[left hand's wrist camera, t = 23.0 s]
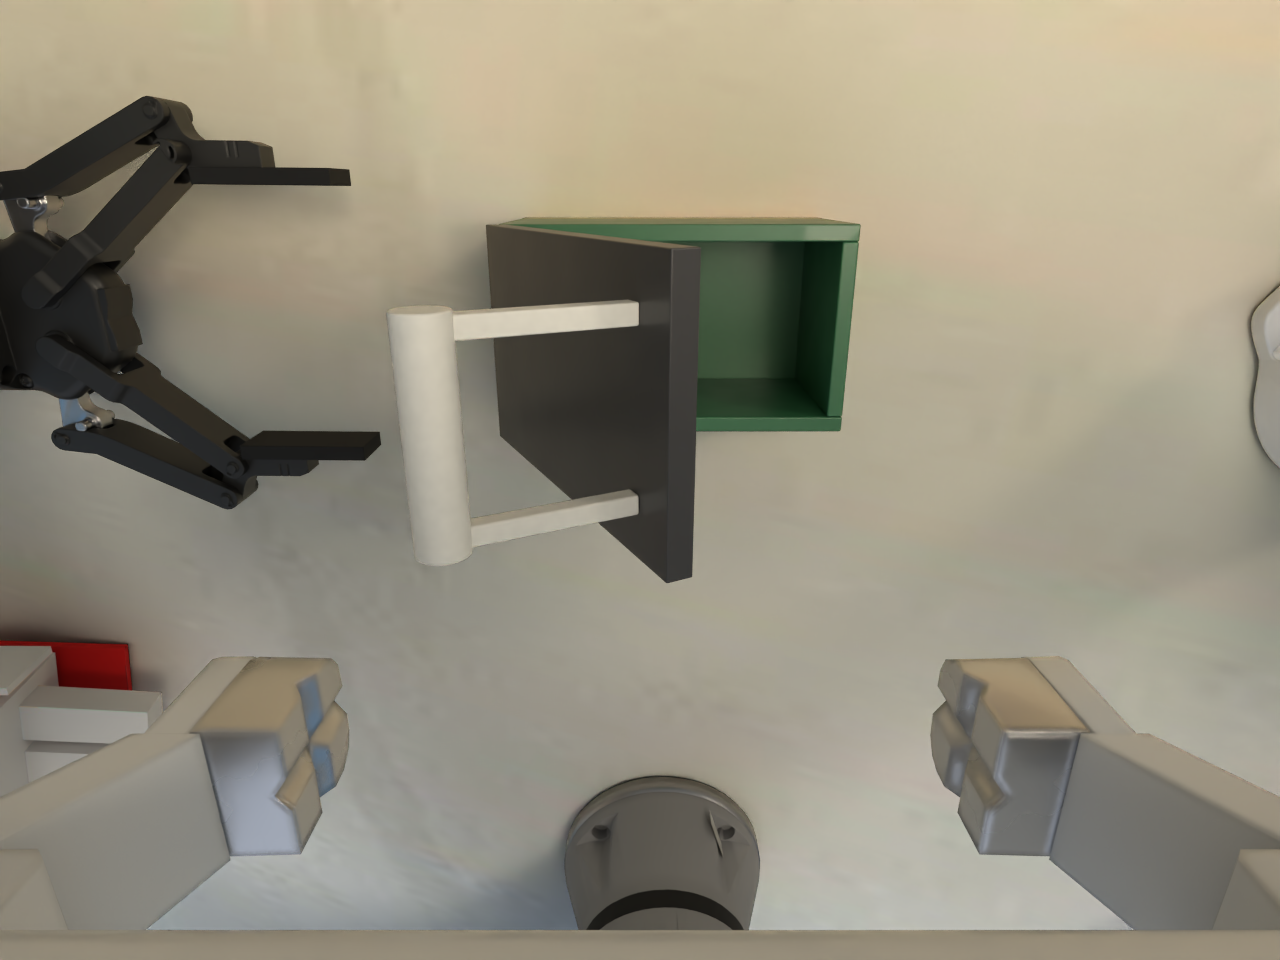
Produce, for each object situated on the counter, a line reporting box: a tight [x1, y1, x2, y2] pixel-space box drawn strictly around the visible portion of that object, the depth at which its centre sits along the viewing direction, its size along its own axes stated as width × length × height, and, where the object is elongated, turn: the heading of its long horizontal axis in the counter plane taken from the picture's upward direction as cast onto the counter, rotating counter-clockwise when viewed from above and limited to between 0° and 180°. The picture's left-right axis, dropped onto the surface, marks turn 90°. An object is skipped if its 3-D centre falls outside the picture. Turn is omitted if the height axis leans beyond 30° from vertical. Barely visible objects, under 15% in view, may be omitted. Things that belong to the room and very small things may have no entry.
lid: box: [386, 224, 701, 583], centre depth 28 cm, size 17×10×8 cm
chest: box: [499, 218, 860, 431], centre depth 42 cm, size 17×10×9 cm, turn 90°
